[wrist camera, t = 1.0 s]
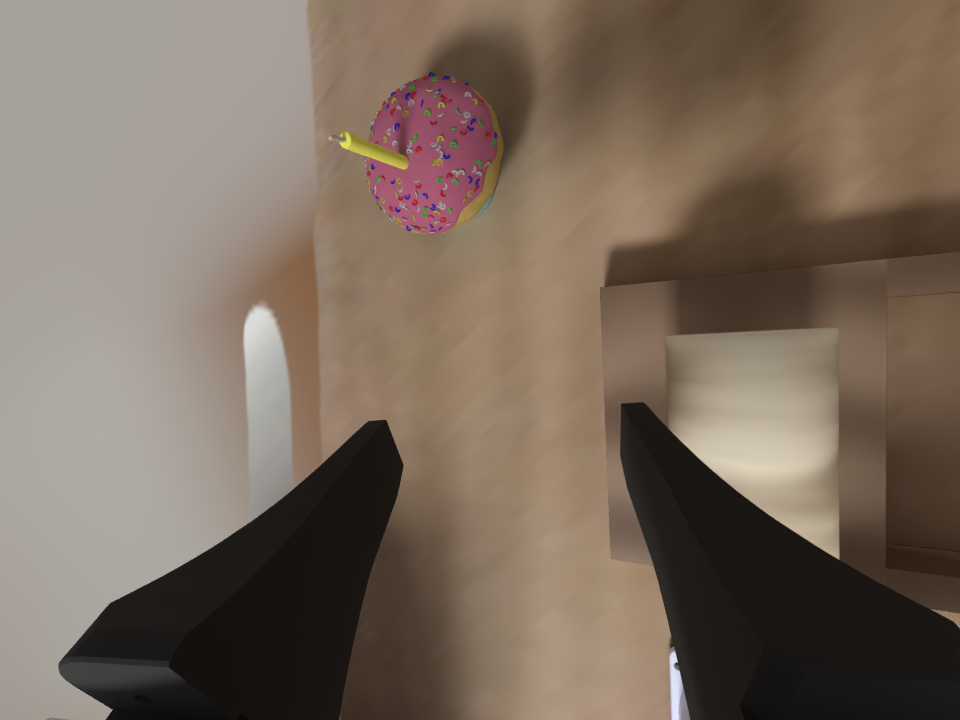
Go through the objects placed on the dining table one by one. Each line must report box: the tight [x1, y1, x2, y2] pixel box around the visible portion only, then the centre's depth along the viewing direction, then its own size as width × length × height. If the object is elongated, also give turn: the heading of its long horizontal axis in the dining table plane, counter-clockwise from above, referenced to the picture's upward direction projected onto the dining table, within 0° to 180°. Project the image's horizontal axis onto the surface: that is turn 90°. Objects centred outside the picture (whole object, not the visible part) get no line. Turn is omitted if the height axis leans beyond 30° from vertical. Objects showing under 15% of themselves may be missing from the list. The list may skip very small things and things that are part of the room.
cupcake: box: [329, 73, 504, 234], centre depth 21 cm, size 9×8×12 cm
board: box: [600, 252, 960, 613], centre depth 18 cm, size 16×25×2 cm, turn 94°
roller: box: [665, 328, 839, 559], centre depth 17 cm, size 10×6×6 cm, turn 4°
